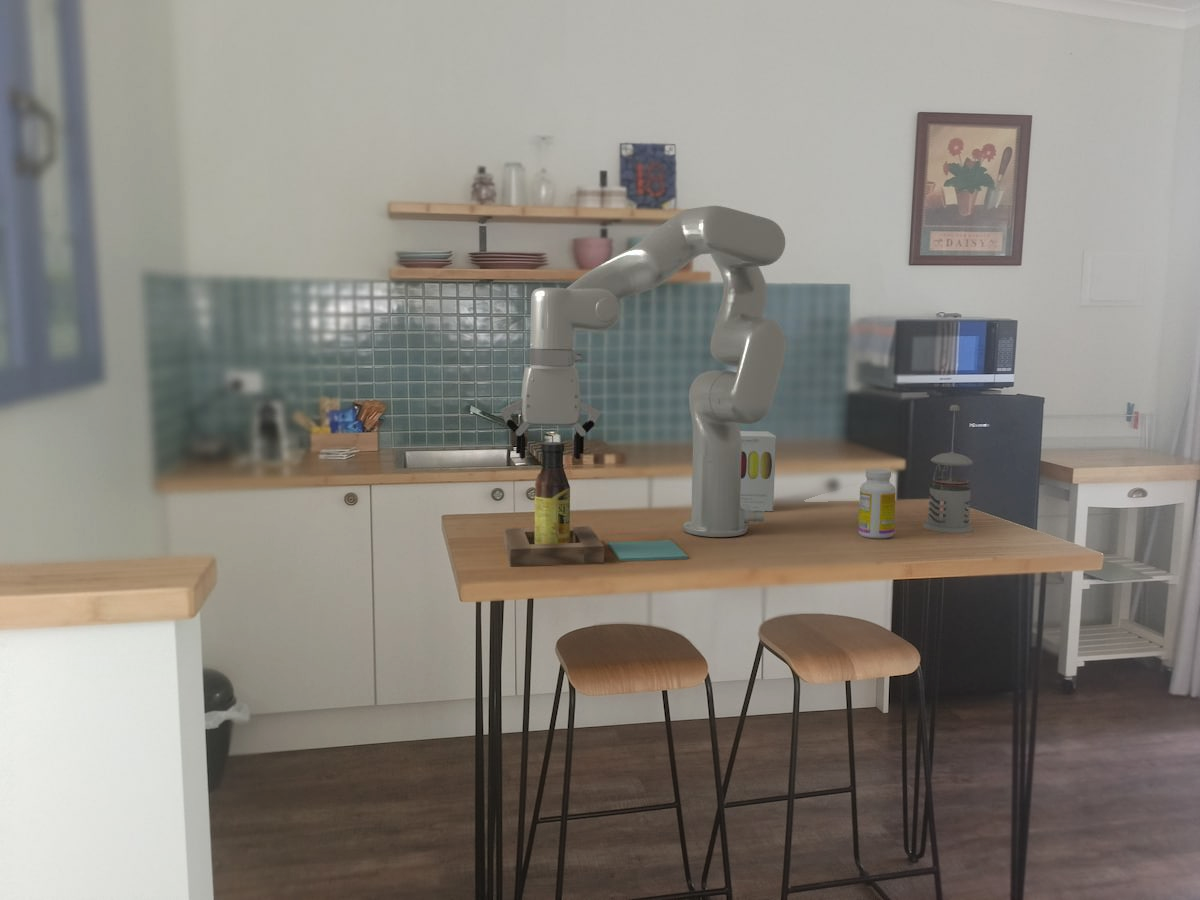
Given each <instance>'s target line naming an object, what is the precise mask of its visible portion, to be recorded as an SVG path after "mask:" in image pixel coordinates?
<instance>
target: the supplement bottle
mask: <svg viewBox="0 0 1200 900" xmlns="http://www.w3.org/2000/svg"><path fill="white" fill-rule="evenodd" d="M865 477H866V481H865V482H864V483H863V482H862V484H861V485H860V487H859V488H860V489H859V505H858V506H859V507H858V509H859V510H858V534H859V535H860V536H862V537H863V538H869V539H878V540H879V539H880V540H881V539H882V540H883V539H890V538H892V537H893V536H894V533H895V517H896V515H895V514H896V513H895V511H896V493H897V492H896V487H895V485H894V484H892V483H890V481H891V477H892V471H891V470H889V469H883V468H868V469H866V470H865Z"/></svg>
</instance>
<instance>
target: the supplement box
mask: <svg viewBox="0 0 1200 900" xmlns="http://www.w3.org/2000/svg"><path fill="white" fill-rule="evenodd" d="M740 434H741V439H742V456H741V493H740V508H742V509H744V510H745V511H753V512H763V513H766V512H765V511H773V512H774V497H775V496H774V495H775V492H774V491H775V469H776V452H777V450H776V446H777V436H776V434H773V433H771V432H770V431H768V430H763V431H762V430H761V431H759V430H757V431H755V430H754V431H753V430H740Z"/></svg>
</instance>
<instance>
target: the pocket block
mask: <svg viewBox="0 0 1200 900" xmlns="http://www.w3.org/2000/svg"><path fill="white" fill-rule="evenodd" d="M503 533H504V534H503V536H504V537H503V538H504V539H503V541H504V542H503V545H504V549H505V551H506V556H507V559H508V561H509V562H508V563H509V565H510V567H535V565H540V566H562V565H563V566H564V565H590V564H591V565H593V564H595V565H596V564H605V546H604V544H603V542H602V541H601V540H600V539H599V537H598V536H597V534H596V532H595V531H594V530H593V529H592V527H591V526H590V525H588V526H570V543H559V544H535V527H518V528H517V527H516V528H514V527H513V528H504V529H503Z"/></svg>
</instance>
